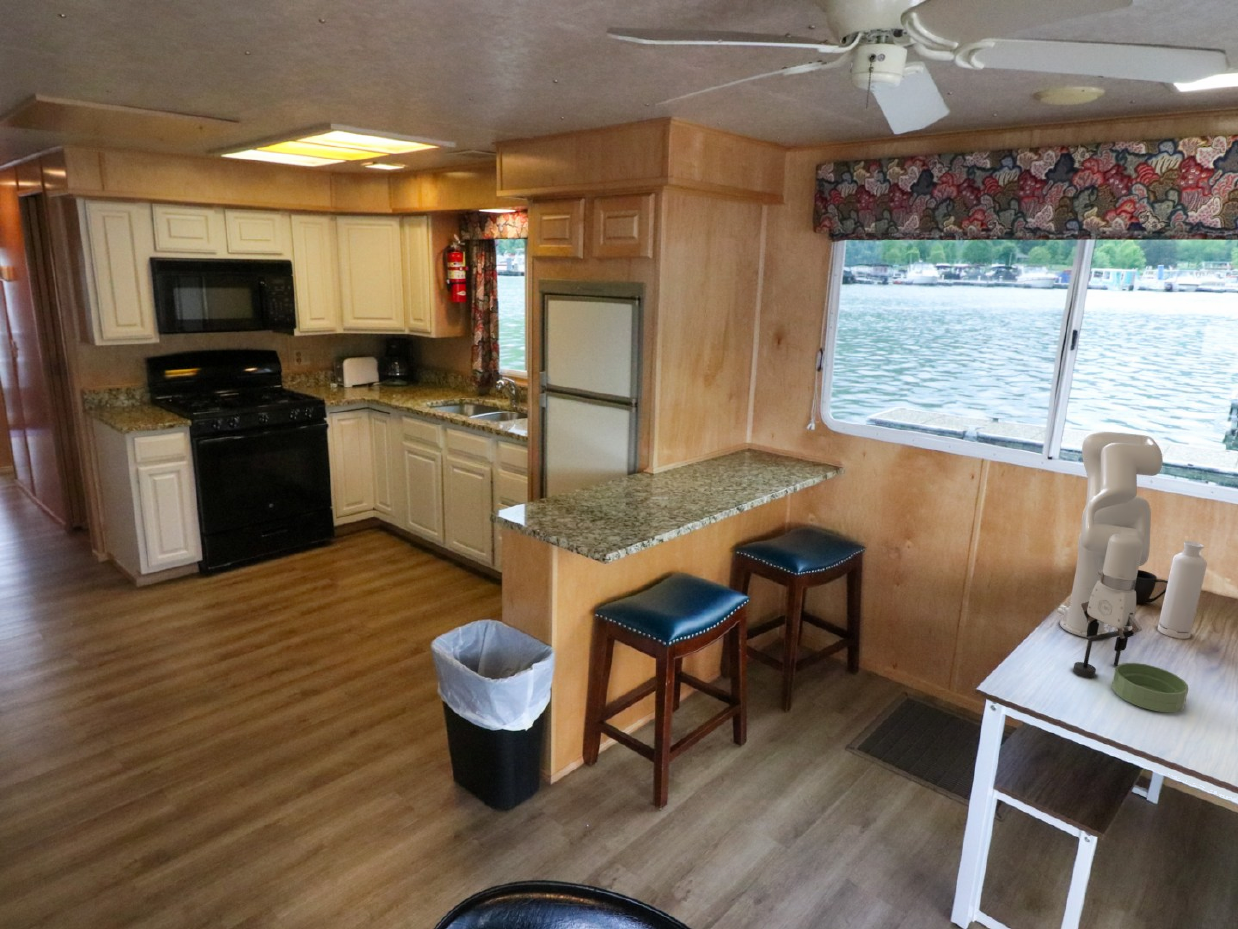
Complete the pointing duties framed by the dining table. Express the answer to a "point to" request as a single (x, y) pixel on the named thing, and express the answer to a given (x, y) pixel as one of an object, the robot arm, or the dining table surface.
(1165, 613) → the bottle
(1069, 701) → the dining table surface
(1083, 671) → the ladle
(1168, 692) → the bowl
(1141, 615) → the dining table surface
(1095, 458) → the robot arm
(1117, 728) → the dining table surface
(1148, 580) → the mug
